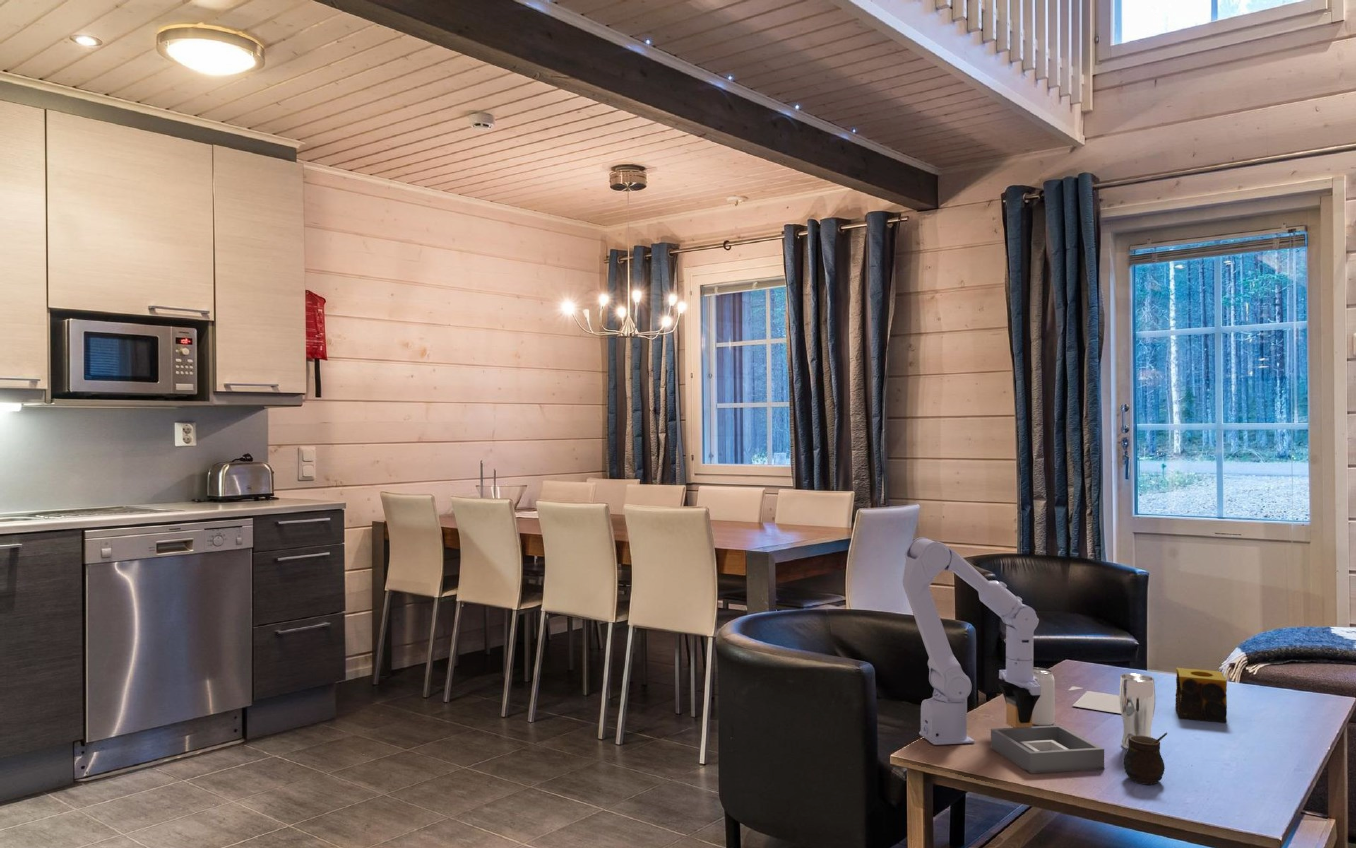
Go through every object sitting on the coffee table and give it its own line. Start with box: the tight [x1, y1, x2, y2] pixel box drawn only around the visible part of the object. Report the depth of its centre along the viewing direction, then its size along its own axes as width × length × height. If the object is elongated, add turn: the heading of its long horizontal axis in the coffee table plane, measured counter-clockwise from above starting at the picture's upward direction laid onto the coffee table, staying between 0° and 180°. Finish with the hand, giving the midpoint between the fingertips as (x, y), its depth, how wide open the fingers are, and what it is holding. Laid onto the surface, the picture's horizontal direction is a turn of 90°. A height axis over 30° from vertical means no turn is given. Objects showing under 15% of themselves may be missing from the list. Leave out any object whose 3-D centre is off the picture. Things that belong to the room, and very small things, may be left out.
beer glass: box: [1118, 673, 1156, 750], centre depth 207 cm, size 7×7×15 cm
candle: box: [1174, 667, 1228, 724], centre depth 231 cm, size 10×10×10 cm
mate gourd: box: [1123, 731, 1168, 785], centre depth 188 cm, size 7×8×10 cm
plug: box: [1005, 696, 1033, 728], centre depth 215 cm, size 4×4×6 cm
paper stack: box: [1067, 685, 1122, 715], centre depth 246 cm, size 23×25×1 cm
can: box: [1032, 667, 1055, 726], centre depth 225 cm, size 6×6×12 cm
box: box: [990, 724, 1105, 775], centre depth 200 cm, size 16×16×4 cm
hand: (1019, 719), depth 215 cm, fingers closed on plug, 4 cm apart
